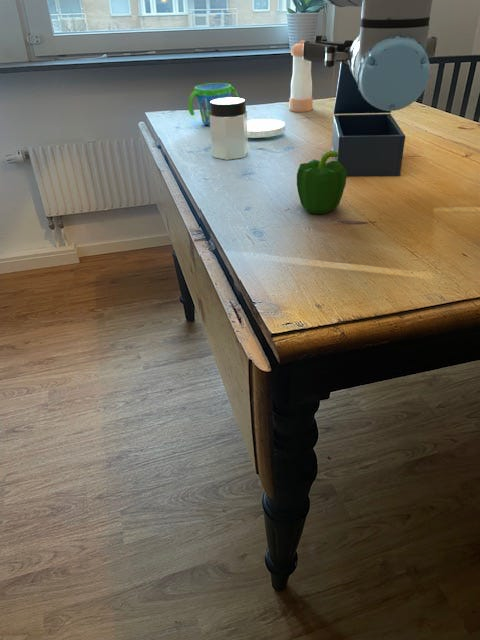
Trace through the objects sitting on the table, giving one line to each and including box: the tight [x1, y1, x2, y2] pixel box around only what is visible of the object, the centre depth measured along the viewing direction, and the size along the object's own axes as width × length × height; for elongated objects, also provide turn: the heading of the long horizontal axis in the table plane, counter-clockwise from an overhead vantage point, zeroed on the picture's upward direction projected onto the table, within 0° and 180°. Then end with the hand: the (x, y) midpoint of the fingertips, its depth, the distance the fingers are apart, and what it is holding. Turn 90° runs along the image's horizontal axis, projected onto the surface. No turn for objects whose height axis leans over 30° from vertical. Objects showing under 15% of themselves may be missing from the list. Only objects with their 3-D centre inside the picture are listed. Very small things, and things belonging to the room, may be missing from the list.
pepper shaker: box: [288, 39, 314, 113], centre depth 153 cm, size 7×7×19 cm
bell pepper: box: [296, 150, 347, 215], centre depth 86 cm, size 8×8×10 cm
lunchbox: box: [331, 113, 406, 177], centre depth 109 cm, size 20×13×8 cm, turn 174°
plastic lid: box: [247, 118, 286, 139], centre depth 133 cm, size 14×14×2 cm
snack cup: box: [187, 82, 239, 127], centre depth 144 cm, size 16×10×10 cm
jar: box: [209, 97, 249, 161], centre depth 116 cm, size 9×8×12 cm
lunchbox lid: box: [333, 62, 392, 115], centre depth 105 cm, size 21×13×5 cm
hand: (363, 43), depth 85 cm, fingers open, 13 cm apart
